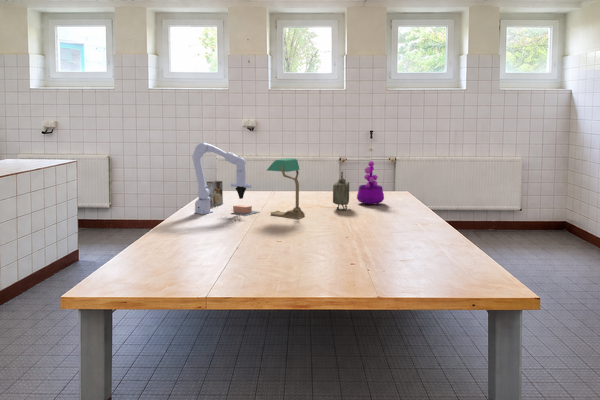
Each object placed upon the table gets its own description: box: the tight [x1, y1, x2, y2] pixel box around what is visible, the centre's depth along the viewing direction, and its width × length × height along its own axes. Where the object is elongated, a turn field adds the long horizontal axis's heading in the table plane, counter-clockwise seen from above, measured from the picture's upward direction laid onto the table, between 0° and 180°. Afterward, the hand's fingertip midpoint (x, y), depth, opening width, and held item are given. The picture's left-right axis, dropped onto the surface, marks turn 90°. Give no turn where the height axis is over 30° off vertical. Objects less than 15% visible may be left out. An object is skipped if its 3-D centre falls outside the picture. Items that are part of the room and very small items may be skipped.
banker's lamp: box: [266, 157, 306, 219], centre depth 347 cm, size 16×21×35 cm
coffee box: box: [206, 180, 224, 207], centre depth 389 cm, size 9×6×16 cm
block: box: [232, 204, 253, 214], centre depth 359 cm, size 6×4×10 cm
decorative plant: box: [356, 160, 385, 205], centre depth 393 cm, size 19×18×30 cm
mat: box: [230, 210, 260, 217], centre depth 358 cm, size 14×12×1 cm
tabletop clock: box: [332, 170, 350, 211], centre depth 372 cm, size 14×9×25 cm, turn 168°
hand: (241, 198), depth 358 cm, fingers closed
